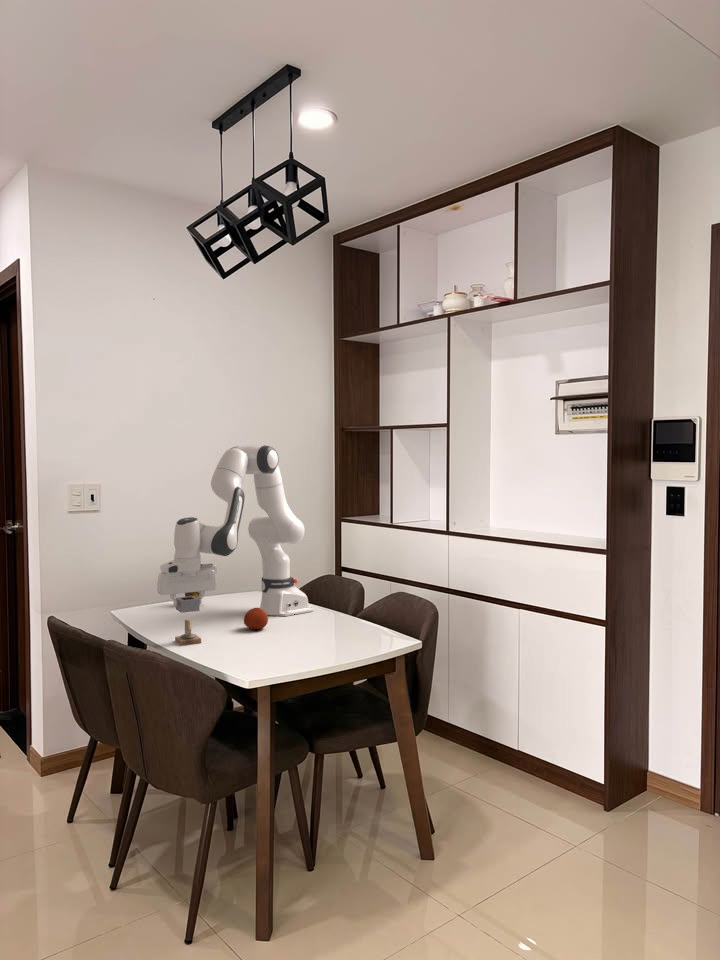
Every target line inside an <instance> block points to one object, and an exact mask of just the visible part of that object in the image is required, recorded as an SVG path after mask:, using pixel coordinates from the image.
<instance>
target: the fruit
mask: <svg viewBox="0 0 720 960" xmlns="http://www.w3.org/2000/svg"><path fill="white" fill-rule="evenodd" d="M268 621H269V615H267V614H266V612H265V611H263V610H262V609H260V607H253V608H250V609H249V610H247V612H245V614H244V616H243V624H244V625H245V627H246V628H248V629H250V630H262V629H265V627H266V626H267V625H268Z"/></svg>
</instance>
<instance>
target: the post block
mask: <svg viewBox="0 0 720 960" xmlns="http://www.w3.org/2000/svg"><path fill="white" fill-rule="evenodd" d="M174 641H175V643H177V644H178V645H179V646H181V647H182V646H190V645H195V644H196V645H197V644H201V643H202V638H201V637H200V636H198V635H196V634H195V633H192V620H191V619H185V620H184V634H181V635H178V636H175V637H174Z"/></svg>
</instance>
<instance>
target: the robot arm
mask: <svg viewBox="0 0 720 960" xmlns="http://www.w3.org/2000/svg"><path fill="white" fill-rule="evenodd" d="M279 458H280V457H279V454H278V451H276V449H275V448H274V447H273V446H269V445H259V444H258V445H257V444H256V445H255V444H250V445H243V446H239V445H237V446H233V447H231V448H229V449H227V450H226V451H225V452H224V453H223V455H222V456H221V458H220V459H219V461H218V463H217V465H216V467H215V470H214V472H213V474H212V477H211V480H210V486H211V489H212V492H213V493H214V494H215V495H216V496H217V497H218V498H219V499H221V500H223V501H224V502H226V503H227V509H226V512H225V517H224V520H223V521H224V522H223V523H222V525H219V526H214V525H212V526H211V525H206V524H204V523H201V522H200V521H199V519H198V518H197V517H194V516H193V517H192V516H191V517H183V518H180V519H178V520H177V521H176V523H175V525H174V533H173V546H174V549H175V552H174V554H173V556H174V557H173V560H170V561H168V562H165V563H163V564H161V565H160V567H159V569H160V571H161V572H160V573H159V574H158V577H157V583H156V591H157V593H158V594H160V596H169V597H170V599H171V601H172V602H173V607H174V608H176V607H179V601H176V598H177V594H185V593H190V592H199V594H200V596H199V598H198V599H200V605H202V600H203V598H204V596H205V592H211V591H216V590H217V588H218V583H217V582H218V581H217V570H218V569H217V566H216V565H215V564H213V563H201V553H203V554H212V555H217V556H221V557H228V556H230V555H231V554H232V553H233V552H235V549H236V548H238V542H239V530H240V524H241V519H242V516H243V515H242V514H243V509H244V505H245V498H246V496H245V492H244V490H243V489H242V488H243V487H242V486H243V483H244V480H245V477H246V475H253V481H254V488H255V489H254V490H255V494H256V501H257V504H258V507H259V508H260V509H261V510H263V511H264V512H265V513H266V515H260V516H255V517H253V518H251V520H250V521H249V524H248V528H247V531H248V535H249V537H250V538H251V539H252V540H253V541H254V542H255V544H256V546H257V547H258V550H259V552H260V555H261V560H262V561H261V563H262V564H261V566H262V577H261V582H260V583H261V584H260V585H261V592H262V593H261V600H260V605H259V608H260V609H262V610H263V611H265V612H266V614H267V616H280V617H288V616H293V615H294V614H295V615H299V614H305V612H306V613H310V612H314V610H315V608H314V606H312V605H311V604H309V599H308V596H307V595H306V593H305V592H303V591H302V590H300V589H299V588H298V587H297V586H296V584H298V583H299V579H298V578H296V577H291V559H290V557H289V555H288V554H287V553H285V551H284V550H283V548H282V546H281V545H289V546H290V545H295V544H298V543H299V544H300V543H301V541H303V538H305V533H306V531H305V530H306V529H305V525H304V523H303V522H302V521H301V519H299V518H298V517H296V515H295V514H294V513H293V511H292V510H291V508H290V506H289V504H288V502H287V498H286V494H285V489H284V488H285V487H284V483H283V478H282V474H281V469H280V466H279V462H280V460H279Z"/></svg>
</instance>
